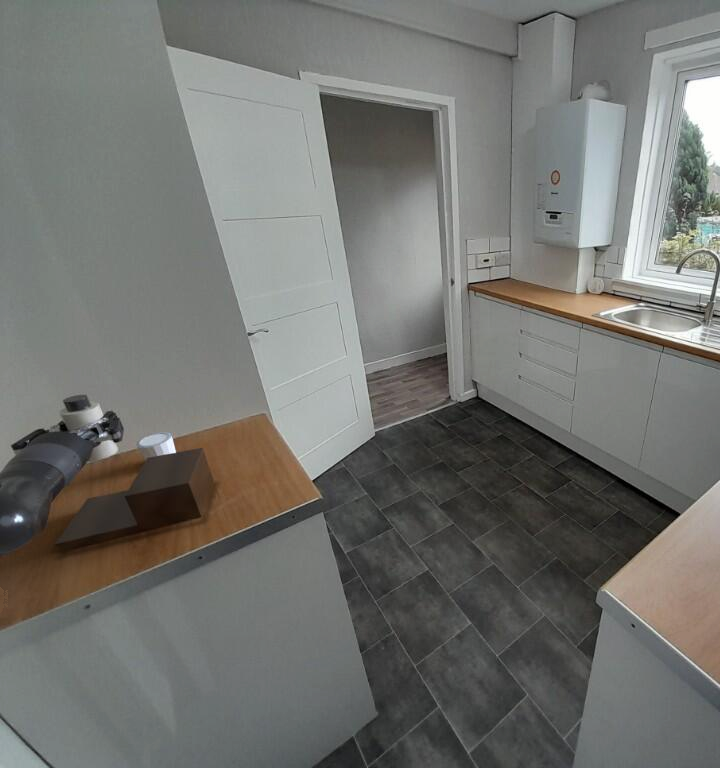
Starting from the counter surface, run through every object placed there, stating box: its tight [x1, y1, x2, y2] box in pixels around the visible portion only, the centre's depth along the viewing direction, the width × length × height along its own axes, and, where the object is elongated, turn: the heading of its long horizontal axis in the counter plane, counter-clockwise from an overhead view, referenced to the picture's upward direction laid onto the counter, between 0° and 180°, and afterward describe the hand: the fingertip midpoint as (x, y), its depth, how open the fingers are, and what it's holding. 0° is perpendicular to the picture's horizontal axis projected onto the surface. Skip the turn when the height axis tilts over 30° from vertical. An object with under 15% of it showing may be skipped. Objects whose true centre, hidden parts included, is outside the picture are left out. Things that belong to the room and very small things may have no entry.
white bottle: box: [59, 394, 119, 463], centre depth 76 cm, size 5×5×12 cm
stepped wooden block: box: [54, 447, 215, 554], centre depth 84 cm, size 22×14×10 cm, turn 115°
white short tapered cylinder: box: [135, 431, 177, 461], centre depth 102 cm, size 7×7×7 cm
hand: (92, 418), depth 78 cm, fingers closed on white bottle, 5 cm apart
